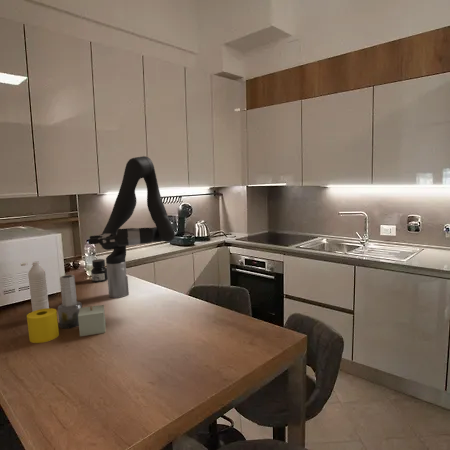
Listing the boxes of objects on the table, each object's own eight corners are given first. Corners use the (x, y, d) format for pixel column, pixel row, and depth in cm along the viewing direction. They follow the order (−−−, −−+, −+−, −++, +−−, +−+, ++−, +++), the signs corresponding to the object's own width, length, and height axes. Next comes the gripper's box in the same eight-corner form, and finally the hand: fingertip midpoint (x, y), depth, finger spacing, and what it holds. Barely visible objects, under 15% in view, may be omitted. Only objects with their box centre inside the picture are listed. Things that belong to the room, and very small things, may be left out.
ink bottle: (88, 282, 206) (86, 262, 204) (97, 278, 215) (95, 258, 213) (103, 282, 204) (101, 262, 202) (111, 278, 212) (110, 258, 211)
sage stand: (105, 323, 145) (103, 301, 144) (105, 332, 137) (103, 308, 136) (81, 327, 143) (79, 304, 141) (79, 336, 134) (77, 312, 133)
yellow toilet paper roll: (64, 332, 138) (62, 309, 137) (45, 344, 129) (42, 319, 128) (43, 330, 141) (41, 307, 140) (23, 341, 132) (20, 317, 130)
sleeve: (77, 302, 149) (74, 274, 147) (76, 306, 144) (73, 277, 142) (63, 303, 147) (61, 275, 145) (62, 308, 142) (59, 279, 140)
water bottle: (50, 314, 158) (44, 259, 155) (50, 319, 152) (44, 262, 149) (27, 318, 154) (21, 261, 151) (26, 323, 148) (20, 265, 145)
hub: (82, 318, 152) (80, 296, 151) (84, 325, 144) (82, 302, 143) (59, 322, 148) (56, 300, 147) (60, 330, 140) (57, 307, 139)
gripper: (127, 226, 162) (89, 229, 157) (128, 230, 149) (87, 233, 144) (128, 242, 163) (90, 245, 158) (130, 248, 150) (88, 252, 145)
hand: (89, 240), depth 151 cm, fingers open, 8 cm apart
